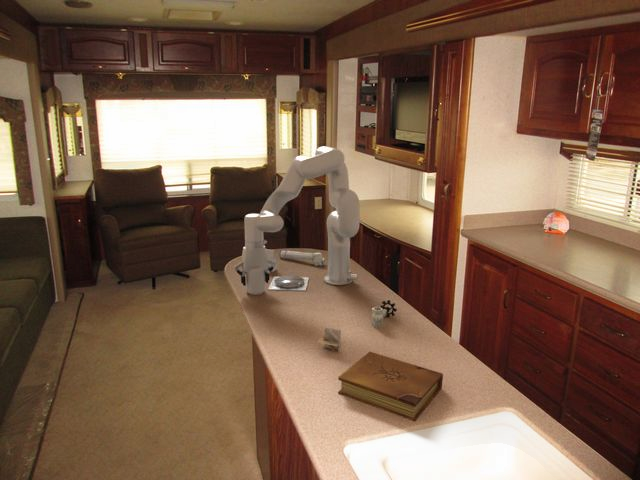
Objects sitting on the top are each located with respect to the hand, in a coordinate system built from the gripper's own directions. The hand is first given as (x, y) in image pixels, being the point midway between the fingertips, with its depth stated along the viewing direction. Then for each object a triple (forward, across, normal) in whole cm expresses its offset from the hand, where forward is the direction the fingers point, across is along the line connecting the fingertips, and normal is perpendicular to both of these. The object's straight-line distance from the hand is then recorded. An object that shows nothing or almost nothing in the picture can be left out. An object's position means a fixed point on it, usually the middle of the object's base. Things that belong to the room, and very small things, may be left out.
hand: (255, 283), depth 217 cm
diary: (+5, -17, +87) cm, 89 cm away
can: (+4, 0, 0) cm, 4 cm away
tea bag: (+4, -13, -27) cm, 30 cm away
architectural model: (+5, -11, +58) cm, 60 cm away
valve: (+4, -36, +45) cm, 58 cm away
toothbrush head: (+4, -32, -34) cm, 47 cm away
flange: (+4, -16, -5) cm, 17 cm away
